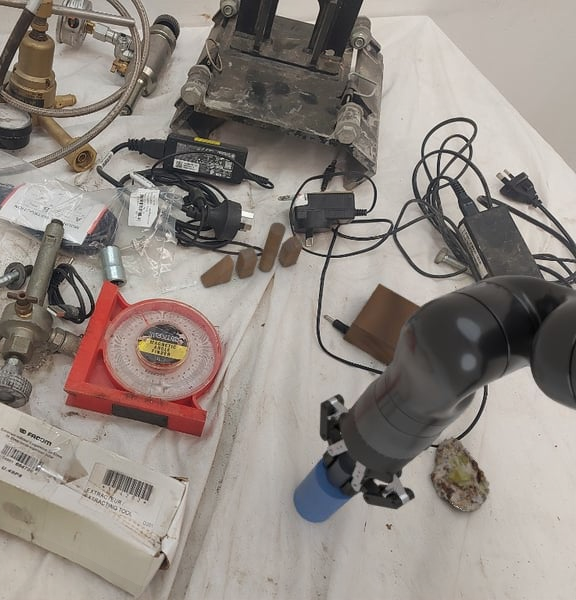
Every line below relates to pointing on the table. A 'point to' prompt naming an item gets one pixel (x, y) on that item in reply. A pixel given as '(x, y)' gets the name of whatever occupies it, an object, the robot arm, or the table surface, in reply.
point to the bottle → (324, 489)
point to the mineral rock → (459, 476)
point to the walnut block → (380, 324)
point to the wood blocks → (254, 258)
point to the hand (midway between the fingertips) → (339, 475)
